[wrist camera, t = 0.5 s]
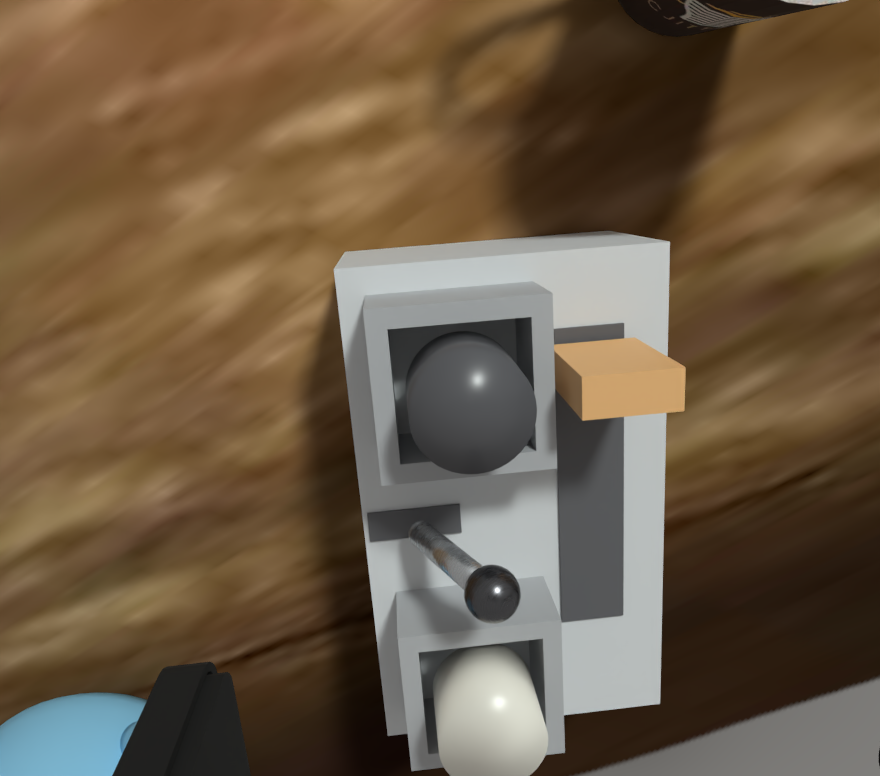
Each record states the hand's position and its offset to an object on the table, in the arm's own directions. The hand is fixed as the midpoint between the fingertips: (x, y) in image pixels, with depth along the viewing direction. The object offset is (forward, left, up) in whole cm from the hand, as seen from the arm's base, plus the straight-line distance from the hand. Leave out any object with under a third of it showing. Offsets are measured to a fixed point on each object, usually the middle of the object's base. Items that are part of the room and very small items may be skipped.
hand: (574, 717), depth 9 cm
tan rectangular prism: (-5, 0, -17) cm, 18 cm away
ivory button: (0, +12, -15) cm, 19 cm away
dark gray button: (0, 0, -15) cm, 15 cm away
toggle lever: (+2, +6, -17) cm, 18 cm away
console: (-2, +6, -24) cm, 25 cm away
